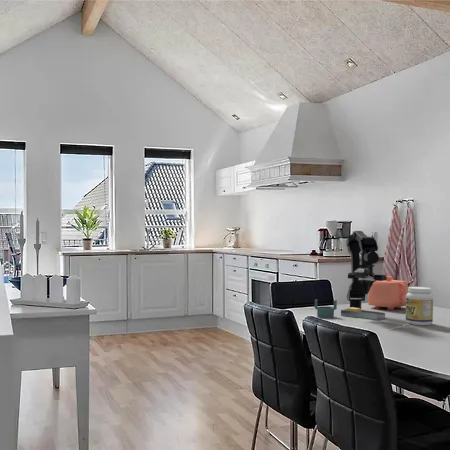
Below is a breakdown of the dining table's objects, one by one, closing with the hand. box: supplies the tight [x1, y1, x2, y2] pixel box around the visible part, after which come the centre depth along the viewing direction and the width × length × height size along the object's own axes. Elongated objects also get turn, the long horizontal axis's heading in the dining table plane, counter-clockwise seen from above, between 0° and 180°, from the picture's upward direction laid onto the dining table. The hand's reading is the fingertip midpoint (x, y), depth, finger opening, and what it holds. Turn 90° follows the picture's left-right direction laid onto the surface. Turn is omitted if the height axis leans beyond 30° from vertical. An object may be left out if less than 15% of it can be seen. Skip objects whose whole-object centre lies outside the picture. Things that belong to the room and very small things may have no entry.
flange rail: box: [340, 308, 386, 321], centre depth 298 cm, size 9×20×3 cm, turn 47°
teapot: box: [367, 275, 409, 311], centre depth 338 cm, size 25×23×18 cm
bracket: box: [314, 299, 338, 319], centre depth 297 cm, size 9×9×9 cm
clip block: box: [346, 306, 362, 312], centre depth 301 cm, size 4×4×5 cm
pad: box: [350, 317, 375, 323], centre depth 287 cm, size 9×9×1 cm
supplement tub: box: [405, 286, 434, 326], centre depth 283 cm, size 12×12×17 cm
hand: (366, 294), depth 296 cm, fingers closed
